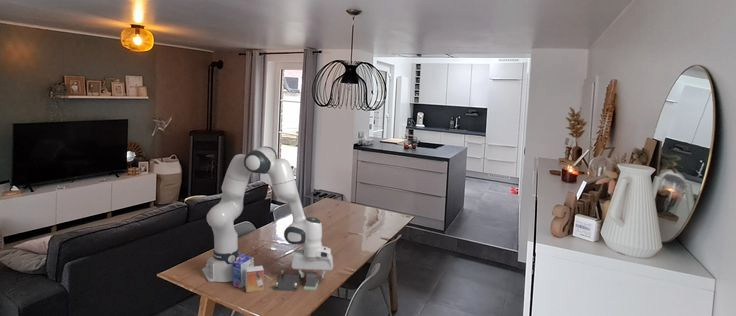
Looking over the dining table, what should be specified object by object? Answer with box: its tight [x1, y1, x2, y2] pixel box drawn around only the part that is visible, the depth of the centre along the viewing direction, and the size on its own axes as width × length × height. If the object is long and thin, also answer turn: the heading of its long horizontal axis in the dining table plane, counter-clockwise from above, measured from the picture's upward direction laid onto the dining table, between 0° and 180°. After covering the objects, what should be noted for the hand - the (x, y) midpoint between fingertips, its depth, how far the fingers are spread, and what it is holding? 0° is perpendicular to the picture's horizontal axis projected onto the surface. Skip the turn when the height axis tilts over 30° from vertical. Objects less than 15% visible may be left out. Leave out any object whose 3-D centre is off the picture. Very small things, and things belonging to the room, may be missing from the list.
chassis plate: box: [273, 269, 302, 292], centre depth 205 cm, size 11×15×4 cm
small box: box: [244, 265, 265, 294], centre depth 197 cm, size 8×6×10 cm
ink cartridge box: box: [232, 253, 255, 289], centre depth 202 cm, size 10×6×14 cm, turn 158°
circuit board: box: [303, 271, 320, 291], centre depth 204 cm, size 6×10×6 cm, turn 178°
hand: (312, 277), depth 204 cm, fingers open, 8 cm apart
